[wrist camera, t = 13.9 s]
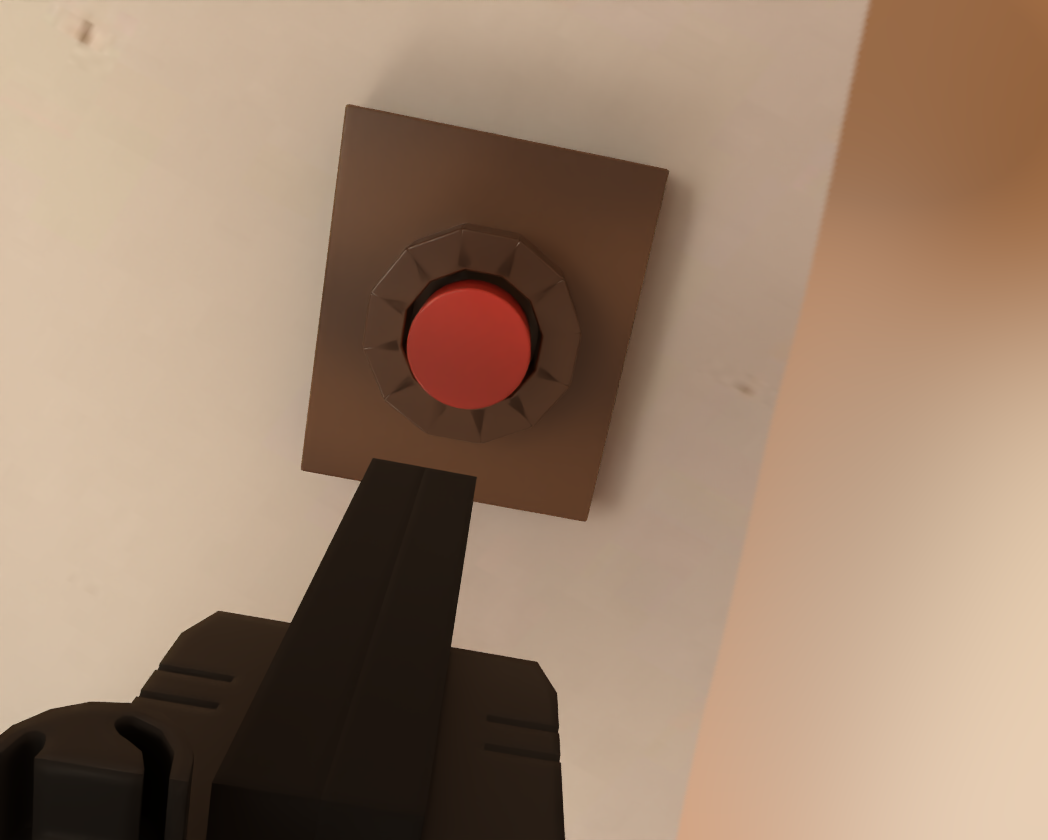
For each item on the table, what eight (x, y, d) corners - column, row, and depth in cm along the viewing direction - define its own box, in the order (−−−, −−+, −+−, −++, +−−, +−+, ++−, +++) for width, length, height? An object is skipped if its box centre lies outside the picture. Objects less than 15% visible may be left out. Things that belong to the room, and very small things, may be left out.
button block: (358, 106, 28) (332, 100, 24) (659, 167, 29) (679, 171, 25) (315, 449, 32) (286, 491, 28) (582, 498, 32) (590, 545, 28)
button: (423, 268, 26) (416, 277, 24) (541, 291, 26) (541, 301, 25) (405, 382, 27) (397, 397, 25) (518, 403, 27) (518, 420, 26)
